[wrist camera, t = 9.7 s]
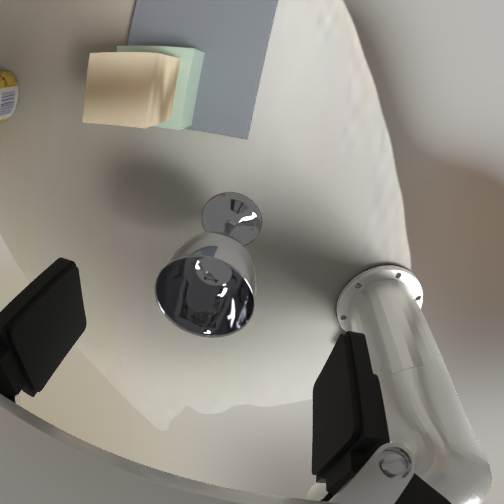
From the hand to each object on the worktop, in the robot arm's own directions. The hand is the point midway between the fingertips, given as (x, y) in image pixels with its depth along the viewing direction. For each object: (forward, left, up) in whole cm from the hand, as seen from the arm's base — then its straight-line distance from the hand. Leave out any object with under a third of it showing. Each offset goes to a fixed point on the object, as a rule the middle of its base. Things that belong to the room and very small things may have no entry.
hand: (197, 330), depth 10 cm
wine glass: (-8, +1, -26) cm, 28 cm away
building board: (+10, +9, -26) cm, 29 cm away
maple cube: (+6, +11, -21) cm, 25 cm away
